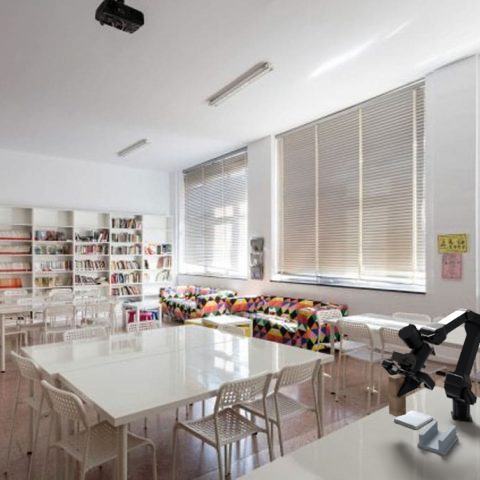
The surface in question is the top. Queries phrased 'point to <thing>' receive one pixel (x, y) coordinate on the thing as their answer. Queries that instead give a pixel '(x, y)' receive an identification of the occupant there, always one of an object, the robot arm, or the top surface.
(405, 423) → the hard drive
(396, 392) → the brown wooden block
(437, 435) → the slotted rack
